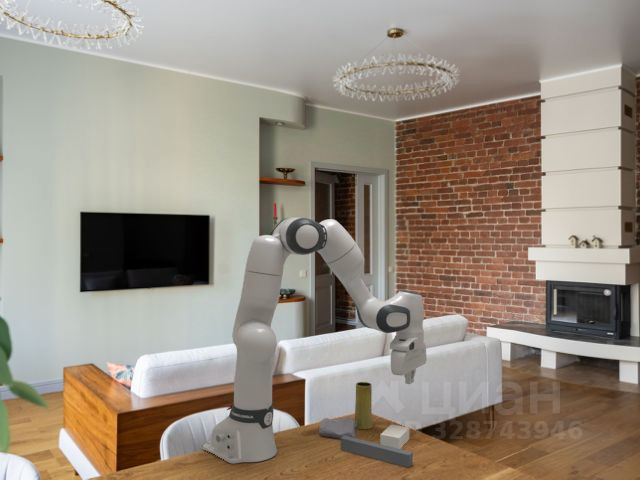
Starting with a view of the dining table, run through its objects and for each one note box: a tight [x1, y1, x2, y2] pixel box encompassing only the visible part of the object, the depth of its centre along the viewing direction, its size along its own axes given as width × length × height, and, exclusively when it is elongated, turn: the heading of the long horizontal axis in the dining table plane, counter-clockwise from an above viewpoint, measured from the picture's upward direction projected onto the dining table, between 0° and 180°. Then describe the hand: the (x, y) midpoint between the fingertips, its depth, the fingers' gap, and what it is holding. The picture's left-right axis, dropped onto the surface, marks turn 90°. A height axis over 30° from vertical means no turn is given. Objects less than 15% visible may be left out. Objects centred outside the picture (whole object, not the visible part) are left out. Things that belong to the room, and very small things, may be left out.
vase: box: [354, 381, 373, 430], centre depth 183 cm, size 6×6×14 cm
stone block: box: [318, 417, 356, 440], centre depth 177 cm, size 12×5×10 cm
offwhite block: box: [379, 423, 410, 449], centre depth 169 cm, size 6×10×4 cm, turn 153°
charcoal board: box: [340, 436, 414, 469], centre depth 158 cm, size 22×2×4 cm, turn 57°
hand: (409, 383), depth 178 cm, fingers closed
